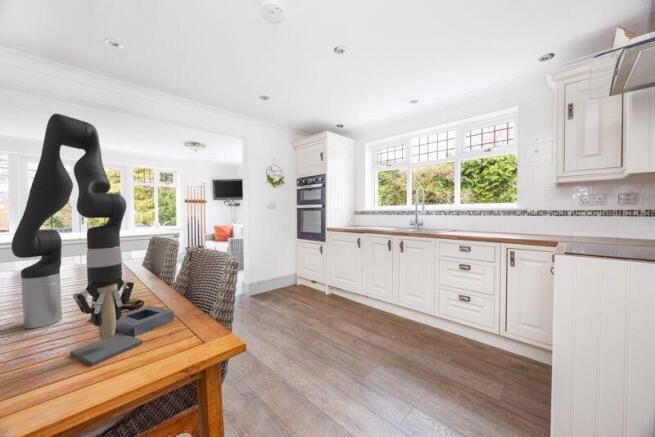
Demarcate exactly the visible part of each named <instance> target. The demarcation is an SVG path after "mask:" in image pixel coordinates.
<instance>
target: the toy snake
mask: <svg viewBox="0 0 655 437" xmlns="http://www.w3.org/2000/svg"><path fill="white" fill-rule="evenodd" d="M144 305H145V300H143V299H136V298H131V297H130V298H129V301H128V302H127V303H124V304H123V305H122V306H121V311H126V310H128V311H134V310H137V309H140V308H143V307H144Z"/></svg>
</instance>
